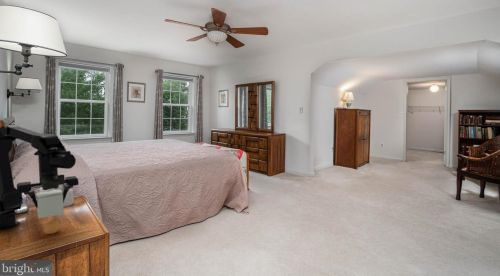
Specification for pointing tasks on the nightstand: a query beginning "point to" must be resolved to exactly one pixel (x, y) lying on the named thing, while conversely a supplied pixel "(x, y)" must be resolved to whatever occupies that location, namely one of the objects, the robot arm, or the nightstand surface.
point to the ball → (51, 227)
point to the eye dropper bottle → (68, 198)
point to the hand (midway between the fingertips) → (50, 204)
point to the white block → (49, 203)
